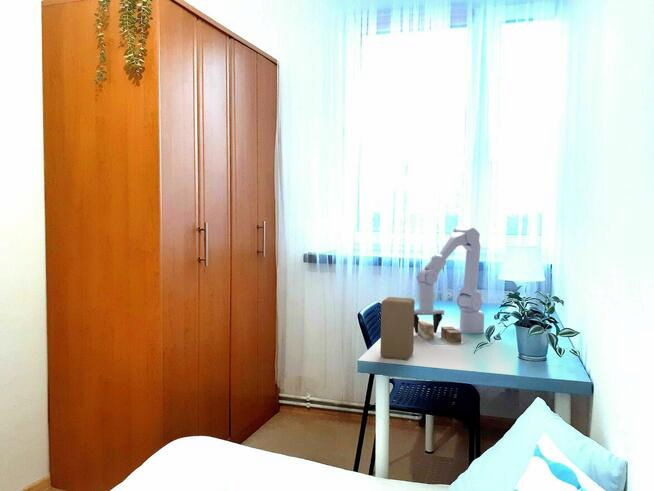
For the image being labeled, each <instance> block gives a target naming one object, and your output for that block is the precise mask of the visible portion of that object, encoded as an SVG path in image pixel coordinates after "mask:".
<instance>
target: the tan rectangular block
mask: <svg viewBox="0 0 654 491" xmlns="http://www.w3.org/2000/svg"><path fill="white" fill-rule="evenodd" d="M418 333H419V334H420V335H421V338H423V337H424V338H425V339H426V338H434V326H433V324H432V323H430V322H429V321H427V320H419V321H418ZM418 333H417V334H418ZM419 334H418V335H419ZM420 335H419V336H420ZM424 338H423V339H424ZM425 339H424V340H425Z"/></svg>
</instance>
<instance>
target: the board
mask: <svg viewBox="0 0 654 491" xmlns="http://www.w3.org/2000/svg"><path fill="white" fill-rule="evenodd" d="M417 334H418V335H419V336H421V335H420V334H419V333H417ZM421 337H422V336H421ZM422 338H423V339H424V340H425V341H426V342H428V343H429V344H431V345H433V346H434V345H473V343H472V342H470V341H469V340H468V339H466V338H465V337H462V336H461V343H449V342H448V341H446V339H444V338H442V337H441V331H439V332H438V331H437V332H436V333H434V338H426V339H425V338H424V337H422Z"/></svg>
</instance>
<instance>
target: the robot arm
mask: <svg viewBox="0 0 654 491" xmlns="http://www.w3.org/2000/svg"><path fill="white" fill-rule="evenodd" d="M480 235H481V234H480V232H479V231H478V230H477V229H476V228H474V227H460V226H457V227H454V229H453V231H452V232H451V233H450V235H449V236H450V238H448V240H447V241H446V243H445V245H444V247H443V248H442V250H440V252H439V253H438V254H435V255H434V256H432V257H431V259H430V261H429V262H428V263H427V265H425V267H424V269H420V270H419V272H418V273H417V276H416V280H417V281H418V286H419V293H418V294H419V295H418V298H419V300H418V304H419V305H418V308H417V309H416V308H414V333H415V334H418V321H420V320H419V319H420V317H419V316H432V320H433V324H432V325H433V326H434V333H436V332H438V331H437V330H438V327H439V325H440V324H441V321H442V320H443V316H445V310H444V309H440V308H439V309H437V308H436V309H435V308H434V303H435V302H434V298H435V297H434V296H435V291H434V289H435V283H437V281H438V277H439V274H440V273H441V271H442V270H443V268H444V267H445V266H446V265H447V259H448V258H449V257H450V255H451V254H452V253H453V252H454V251H455V250H456V249H457V247H460V246H462V247H463V248H464V249H465V250H466V252H465V253H466V255H465V266H464V275H463V276H464V278H463V287H462V288H460V290H459V291H458V296H457V298H456V305H457V306H458V307H459V328H458V327H457V328H455V329H456V330H458V331H460V332H461V334H483V333H484V334H485V315H484V314H485V313H484V311H482V310H481V308H482V306H483V300H482V293H481V292H480V291H479V289H478V281H479V280H478V279H479V266H480V256H481V244H480V243H481V242H480Z"/></svg>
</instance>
